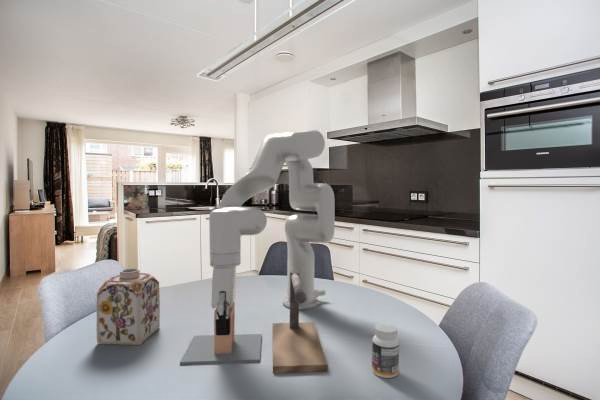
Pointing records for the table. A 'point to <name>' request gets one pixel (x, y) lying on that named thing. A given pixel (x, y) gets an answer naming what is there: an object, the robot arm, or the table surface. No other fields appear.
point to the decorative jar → (128, 308)
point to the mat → (242, 351)
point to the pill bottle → (385, 351)
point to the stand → (297, 338)
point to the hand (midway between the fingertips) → (225, 326)
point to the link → (224, 341)
